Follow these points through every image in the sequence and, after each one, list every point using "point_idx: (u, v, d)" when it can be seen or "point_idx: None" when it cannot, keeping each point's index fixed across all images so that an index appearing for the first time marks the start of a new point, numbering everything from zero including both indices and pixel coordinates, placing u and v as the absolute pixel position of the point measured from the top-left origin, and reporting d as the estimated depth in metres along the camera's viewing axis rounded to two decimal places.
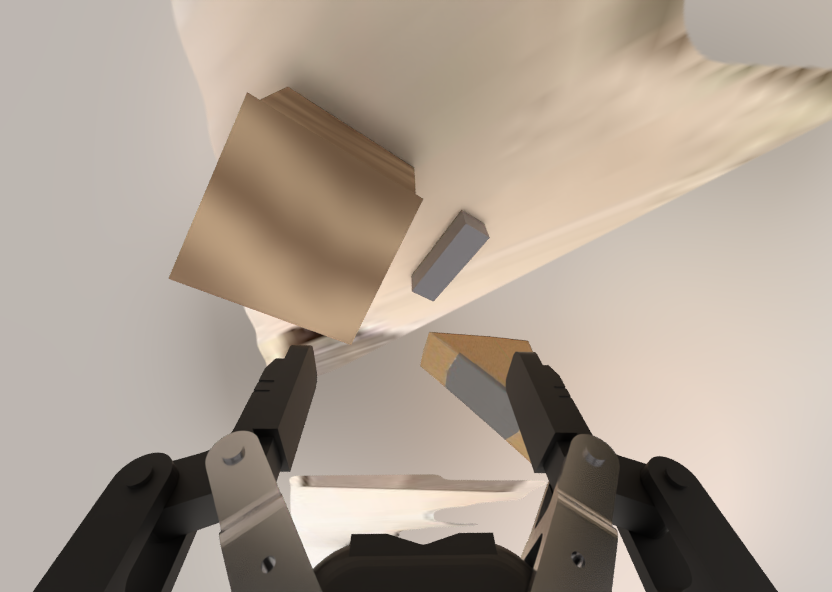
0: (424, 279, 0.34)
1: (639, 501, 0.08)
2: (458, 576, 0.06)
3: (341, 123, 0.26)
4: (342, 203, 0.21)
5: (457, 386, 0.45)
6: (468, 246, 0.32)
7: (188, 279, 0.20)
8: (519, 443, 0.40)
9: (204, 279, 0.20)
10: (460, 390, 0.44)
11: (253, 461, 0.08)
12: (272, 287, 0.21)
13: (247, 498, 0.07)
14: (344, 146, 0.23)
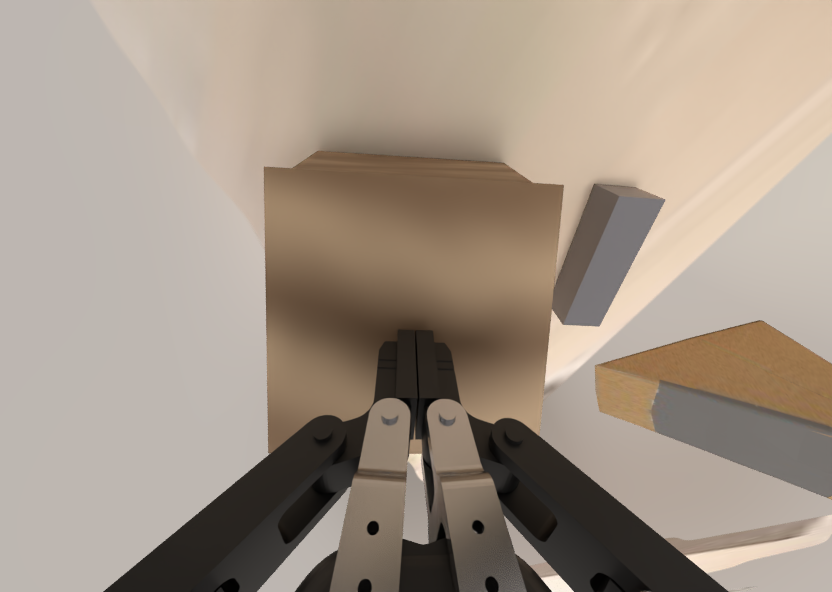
0: (576, 301, 0.23)
1: (481, 457, 0.09)
2: None
3: (392, 157, 0.19)
4: (444, 252, 0.13)
5: (678, 428, 0.29)
6: (632, 228, 0.20)
7: None
8: None
9: None
10: (688, 432, 0.29)
11: (410, 423, 0.09)
12: None
13: (383, 459, 0.08)
14: (411, 175, 0.15)
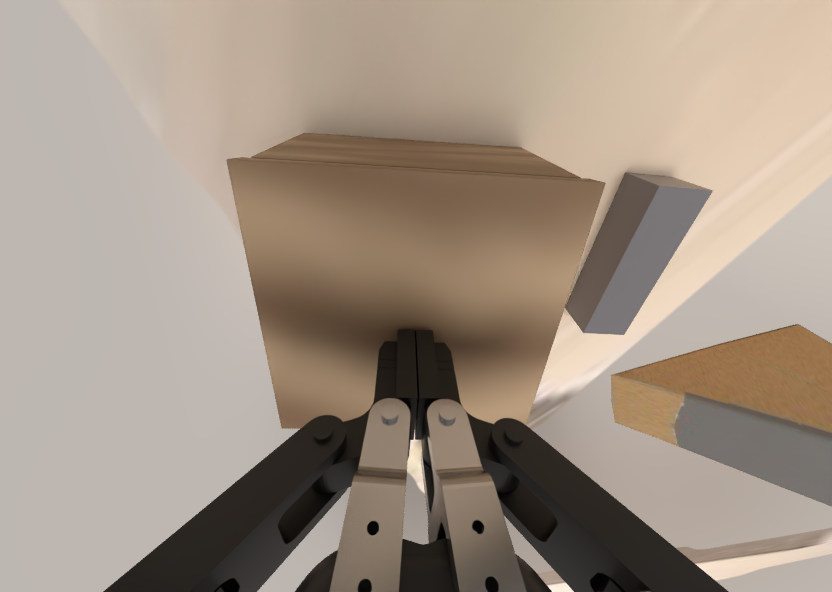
0: (600, 307, 0.20)
1: (481, 457, 0.09)
2: None
3: (392, 140, 0.16)
4: (450, 261, 0.12)
5: (705, 444, 0.26)
6: (671, 224, 0.17)
7: (301, 423, 0.15)
8: None
9: None
10: (716, 449, 0.26)
11: (410, 423, 0.09)
12: None
13: (383, 459, 0.08)
14: (414, 158, 0.13)
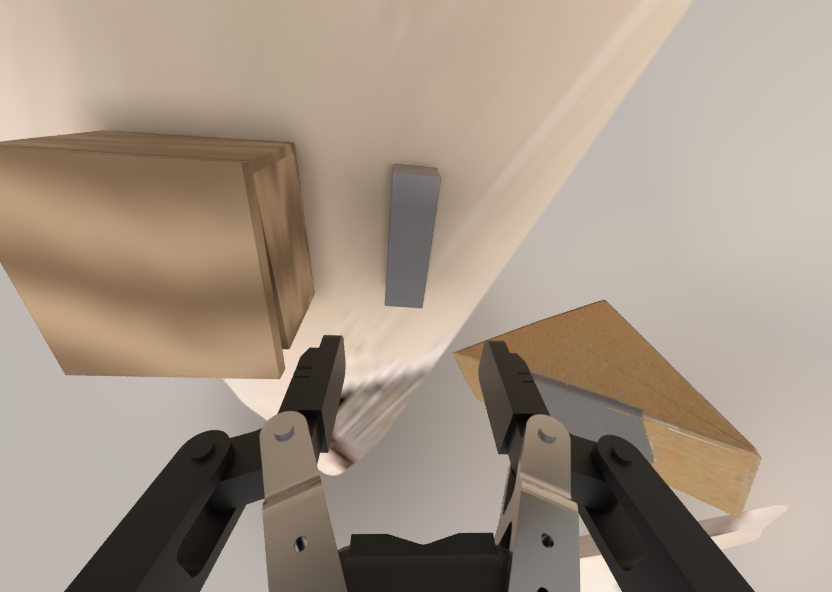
0: (389, 281, 0.23)
1: (588, 476, 0.08)
2: (458, 576, 0.06)
3: (174, 136, 0.20)
4: (145, 226, 0.15)
5: None
6: (418, 206, 0.20)
7: (80, 370, 0.18)
8: (672, 478, 0.22)
9: (92, 365, 0.18)
10: None
11: (304, 438, 0.08)
12: (155, 351, 0.18)
13: (290, 476, 0.07)
14: (138, 147, 0.16)
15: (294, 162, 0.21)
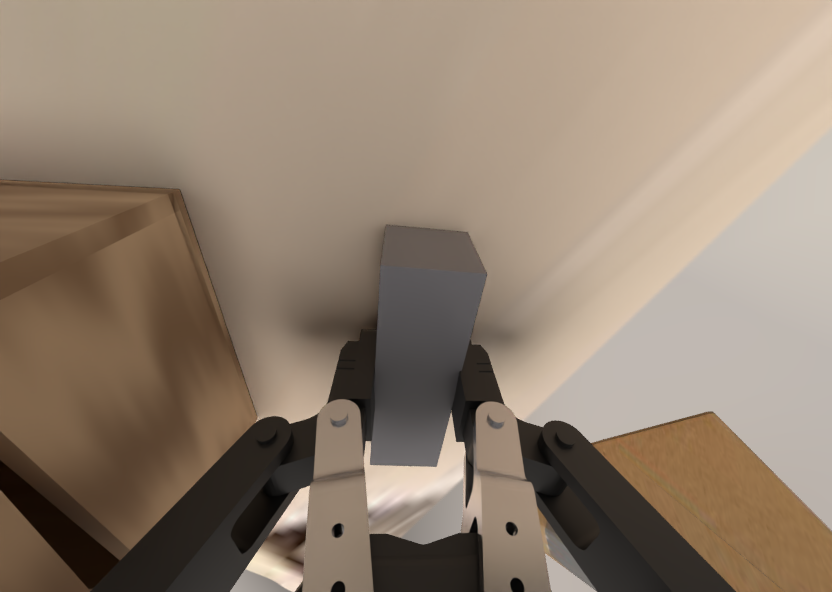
0: (378, 435, 0.13)
1: (532, 459, 0.09)
2: (458, 576, 0.06)
3: None
4: None
5: (592, 585, 0.19)
6: (435, 326, 0.10)
7: None
8: None
9: None
10: None
11: (358, 424, 0.09)
12: None
13: (338, 462, 0.08)
14: None
15: (183, 227, 0.10)
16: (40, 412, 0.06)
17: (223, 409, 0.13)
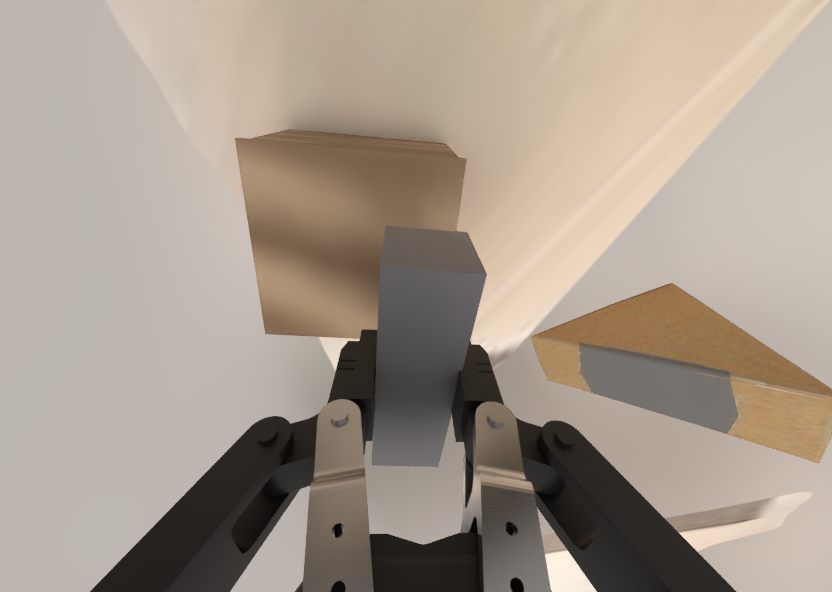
0: (379, 435, 0.13)
1: (532, 460, 0.09)
2: (458, 576, 0.06)
3: (351, 136, 0.23)
4: (375, 208, 0.18)
5: (605, 386, 0.33)
6: (435, 326, 0.10)
7: (279, 329, 0.22)
8: (753, 432, 0.25)
9: (290, 326, 0.21)
10: (613, 388, 0.32)
11: (359, 424, 0.09)
12: (346, 314, 0.21)
13: (339, 461, 0.08)
14: (357, 144, 0.19)
15: None
16: None
17: None
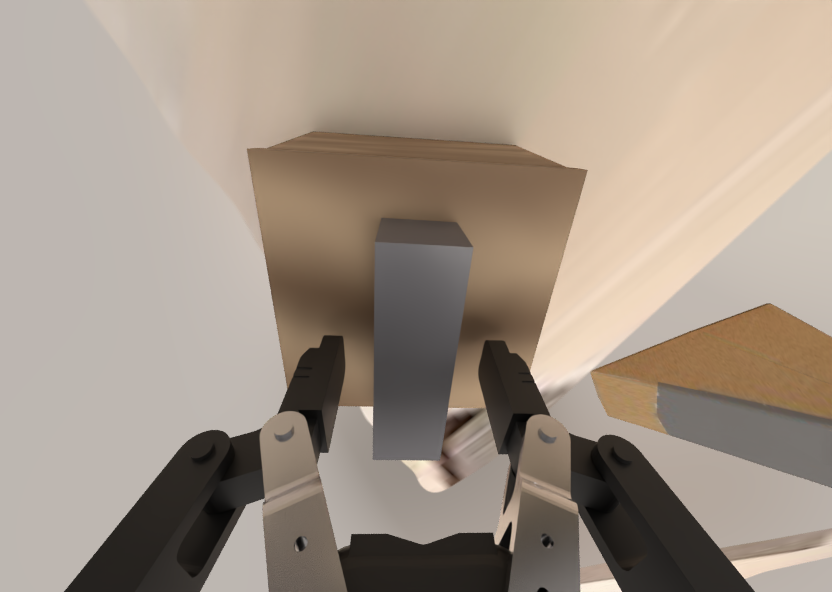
0: (379, 424, 0.13)
1: (588, 476, 0.08)
2: (458, 576, 0.06)
3: (394, 138, 0.18)
4: None
5: (690, 430, 0.27)
6: (429, 302, 0.10)
7: None
8: None
9: None
10: (701, 434, 0.26)
11: (304, 438, 0.08)
12: None
13: (290, 476, 0.07)
14: (414, 151, 0.14)
15: None
16: None
17: None
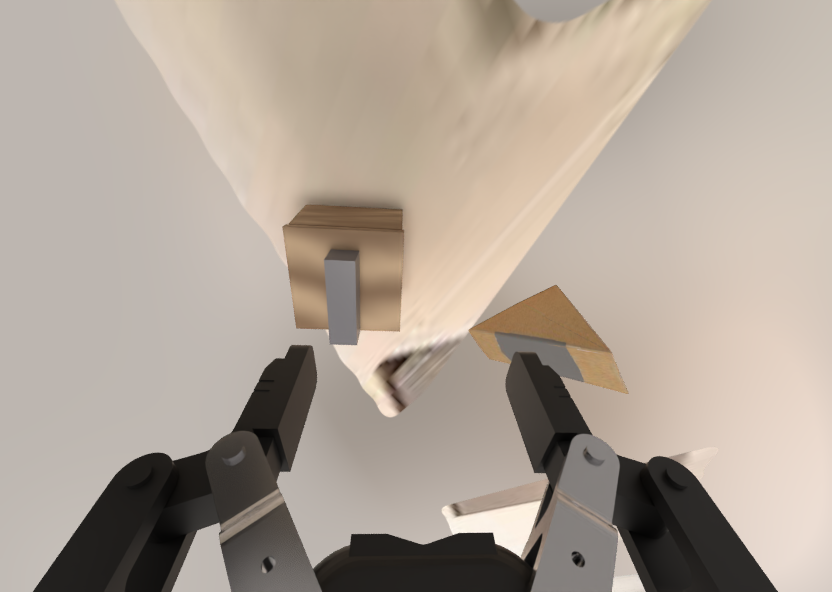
0: (331, 327, 0.33)
1: (639, 501, 0.08)
2: (458, 576, 0.06)
3: (344, 207, 0.38)
4: None
5: None
6: (343, 279, 0.31)
7: (304, 325, 0.37)
8: (593, 379, 0.39)
9: (310, 323, 0.37)
10: None
11: (253, 461, 0.08)
12: None
13: (247, 498, 0.07)
14: (346, 221, 0.34)
15: None
16: None
17: None
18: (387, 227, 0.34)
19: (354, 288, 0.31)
